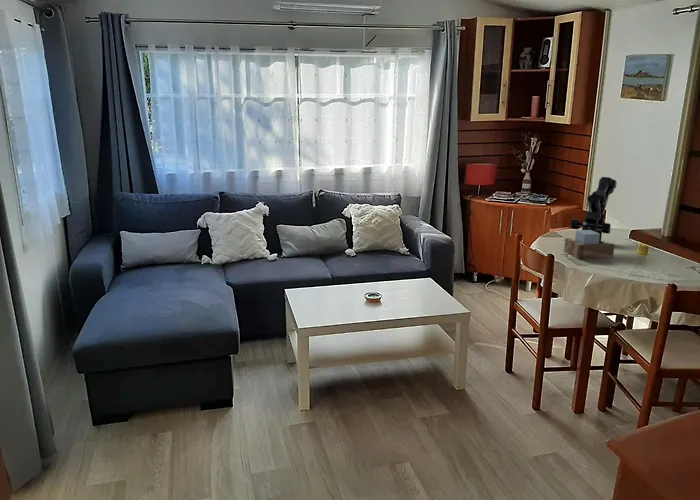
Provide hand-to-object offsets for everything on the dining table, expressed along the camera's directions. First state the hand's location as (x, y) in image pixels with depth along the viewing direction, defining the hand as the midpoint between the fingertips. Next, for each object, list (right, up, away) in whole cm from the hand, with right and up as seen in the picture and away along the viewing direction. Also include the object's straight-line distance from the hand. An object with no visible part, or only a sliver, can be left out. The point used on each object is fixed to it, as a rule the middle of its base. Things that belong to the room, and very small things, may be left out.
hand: (586, 239), depth 282 cm
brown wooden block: (0, -7, -1) cm, 8 cm away
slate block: (-2, -8, -3) cm, 8 cm away
